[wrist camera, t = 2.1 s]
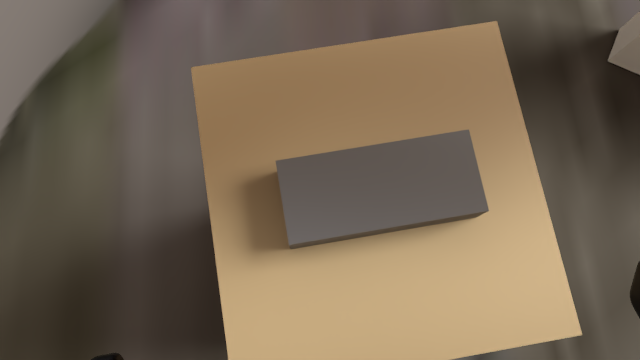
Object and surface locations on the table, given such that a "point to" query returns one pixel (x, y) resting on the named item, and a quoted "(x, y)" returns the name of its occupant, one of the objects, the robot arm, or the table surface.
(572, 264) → the table surface
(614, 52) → the wall board
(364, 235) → the tan rectangular block
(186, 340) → the table surface
